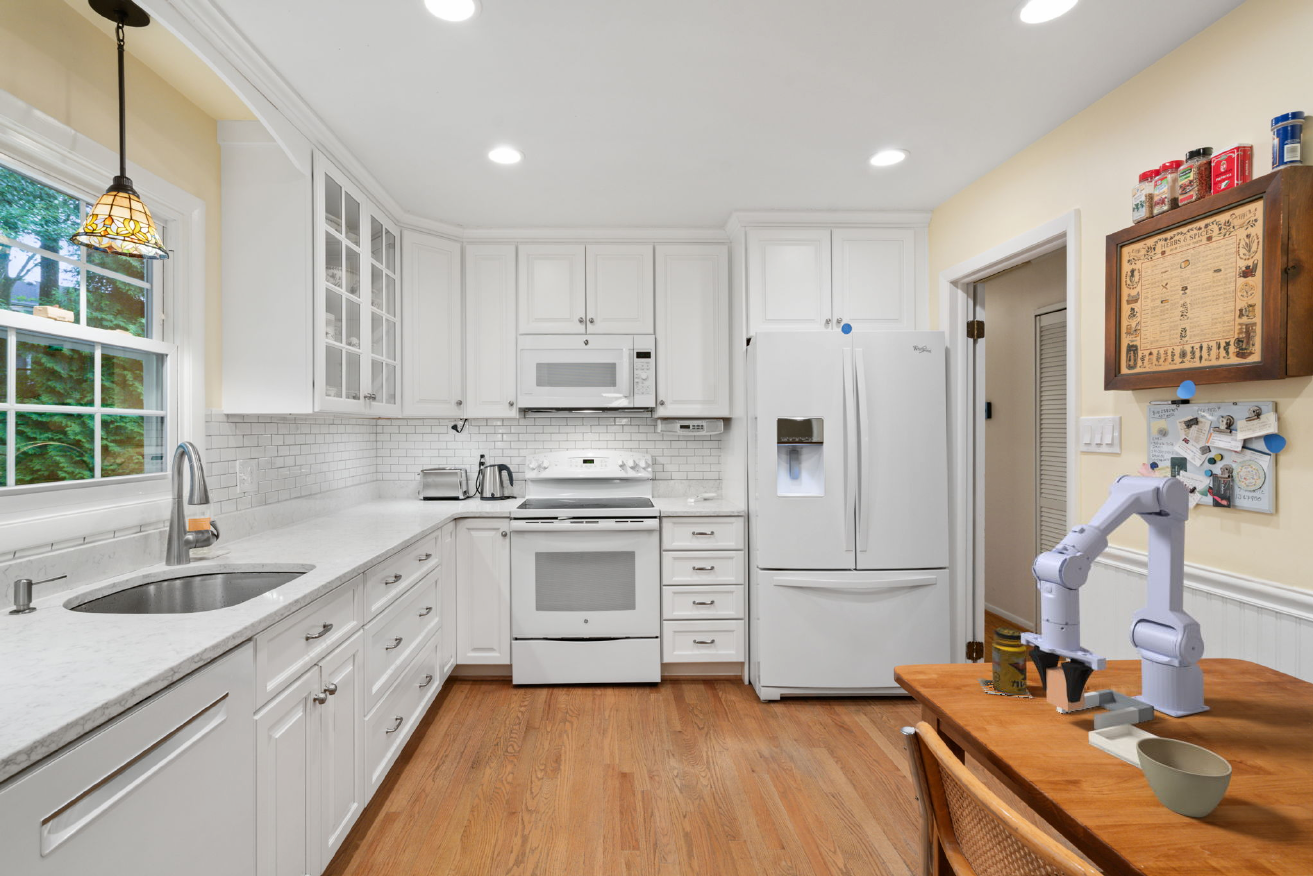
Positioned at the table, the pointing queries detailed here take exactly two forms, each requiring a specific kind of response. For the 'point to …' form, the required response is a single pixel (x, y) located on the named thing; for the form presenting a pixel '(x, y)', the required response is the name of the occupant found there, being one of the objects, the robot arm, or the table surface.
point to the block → (1060, 690)
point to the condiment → (1008, 664)
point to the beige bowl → (1184, 775)
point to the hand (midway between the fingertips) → (1061, 696)
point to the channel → (1107, 713)
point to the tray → (1119, 741)
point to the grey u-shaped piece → (1125, 704)
